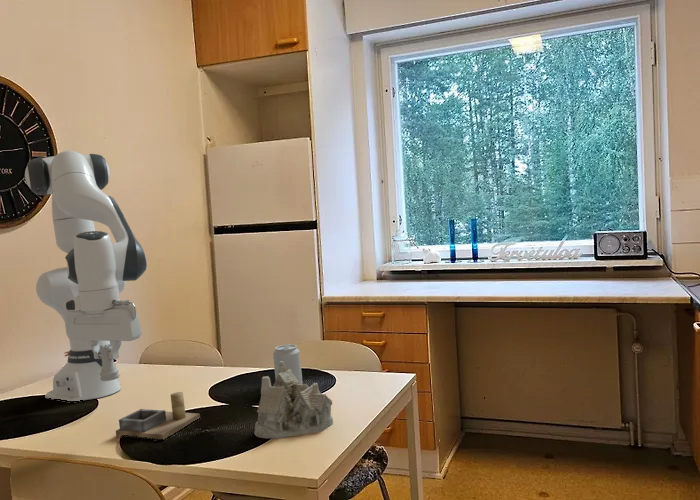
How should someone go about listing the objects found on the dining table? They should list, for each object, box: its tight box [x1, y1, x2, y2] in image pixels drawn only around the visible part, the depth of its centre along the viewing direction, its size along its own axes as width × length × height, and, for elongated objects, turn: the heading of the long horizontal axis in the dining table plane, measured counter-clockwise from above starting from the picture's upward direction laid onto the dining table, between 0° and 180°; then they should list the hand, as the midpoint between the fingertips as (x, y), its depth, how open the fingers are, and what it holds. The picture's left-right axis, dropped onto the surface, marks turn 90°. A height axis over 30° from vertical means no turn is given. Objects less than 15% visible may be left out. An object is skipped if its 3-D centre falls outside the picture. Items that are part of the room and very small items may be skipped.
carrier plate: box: [115, 391, 201, 440], centre depth 151 cm, size 14×14×8 cm
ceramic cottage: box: [253, 361, 334, 440], centre depth 144 cm, size 16×16×15 cm
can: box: [272, 343, 303, 384], centre depth 176 cm, size 8×8×12 cm
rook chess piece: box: [99, 344, 121, 381], centre depth 146 cm, size 4×4×8 cm
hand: (106, 358), depth 146 cm, fingers closed on rook chess piece, 3 cm apart
